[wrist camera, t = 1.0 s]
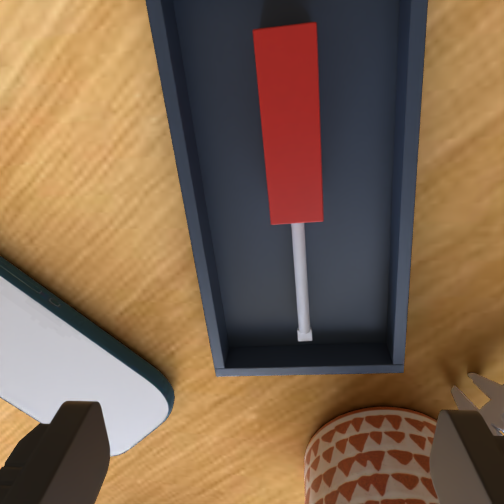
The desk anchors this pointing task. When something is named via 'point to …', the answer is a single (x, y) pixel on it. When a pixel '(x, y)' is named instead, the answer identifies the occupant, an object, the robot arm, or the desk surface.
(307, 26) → the screwdriver
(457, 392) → the caliper
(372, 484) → the planter
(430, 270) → the desk surface
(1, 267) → the external hard drive
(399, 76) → the tray
